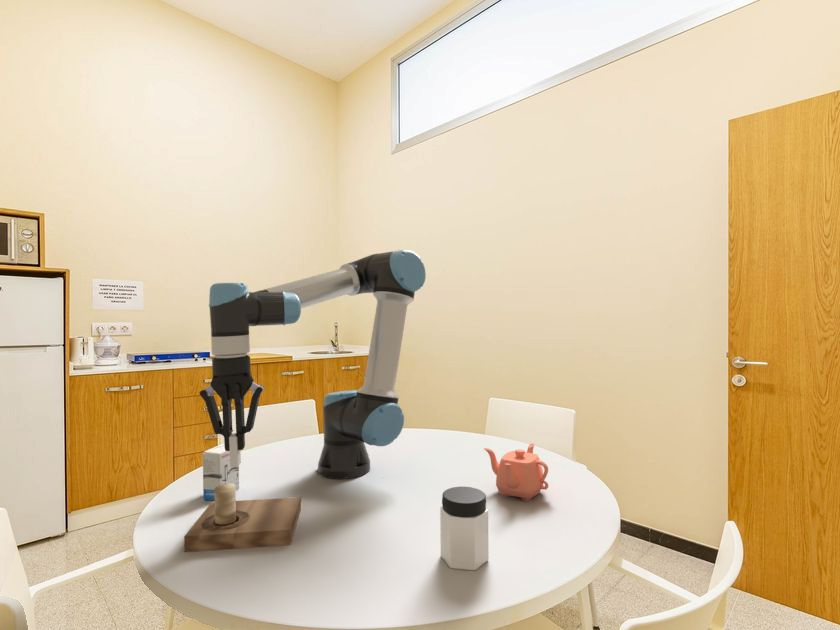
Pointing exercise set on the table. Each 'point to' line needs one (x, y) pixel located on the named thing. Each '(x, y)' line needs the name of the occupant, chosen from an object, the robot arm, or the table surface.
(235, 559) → the table surface
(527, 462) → the teapot
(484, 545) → the jar
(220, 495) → the dowel
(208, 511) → the board
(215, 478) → the ink box
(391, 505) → the table surface
